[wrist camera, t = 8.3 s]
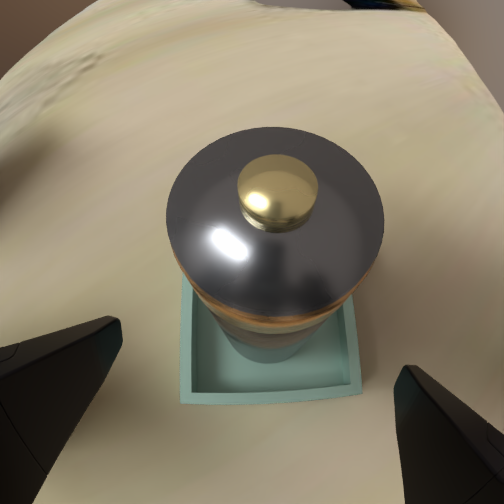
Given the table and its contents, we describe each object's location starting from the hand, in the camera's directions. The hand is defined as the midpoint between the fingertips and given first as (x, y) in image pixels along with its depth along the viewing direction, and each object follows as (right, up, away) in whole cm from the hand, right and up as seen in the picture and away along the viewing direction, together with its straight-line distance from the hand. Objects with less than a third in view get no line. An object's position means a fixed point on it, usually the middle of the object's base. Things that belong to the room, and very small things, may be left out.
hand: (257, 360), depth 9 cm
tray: (+1, -1, +9) cm, 9 cm away
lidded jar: (+1, -1, +8) cm, 8 cm away
